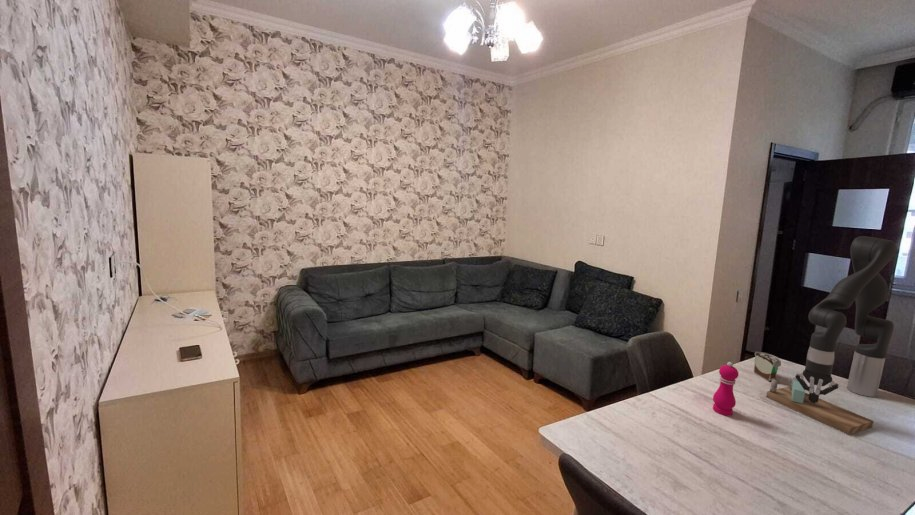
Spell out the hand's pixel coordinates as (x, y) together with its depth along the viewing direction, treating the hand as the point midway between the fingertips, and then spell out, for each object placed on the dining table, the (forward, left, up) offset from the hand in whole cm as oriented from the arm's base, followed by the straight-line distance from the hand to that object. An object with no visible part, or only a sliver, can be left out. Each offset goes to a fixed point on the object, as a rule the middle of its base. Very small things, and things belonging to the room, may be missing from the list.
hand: (812, 401), depth 154 cm
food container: (-15, -25, -4) cm, 29 cm away
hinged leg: (-2, -6, -1) cm, 6 cm away
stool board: (-1, +1, -4) cm, 4 cm away
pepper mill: (+35, -11, -4) cm, 37 cm away
